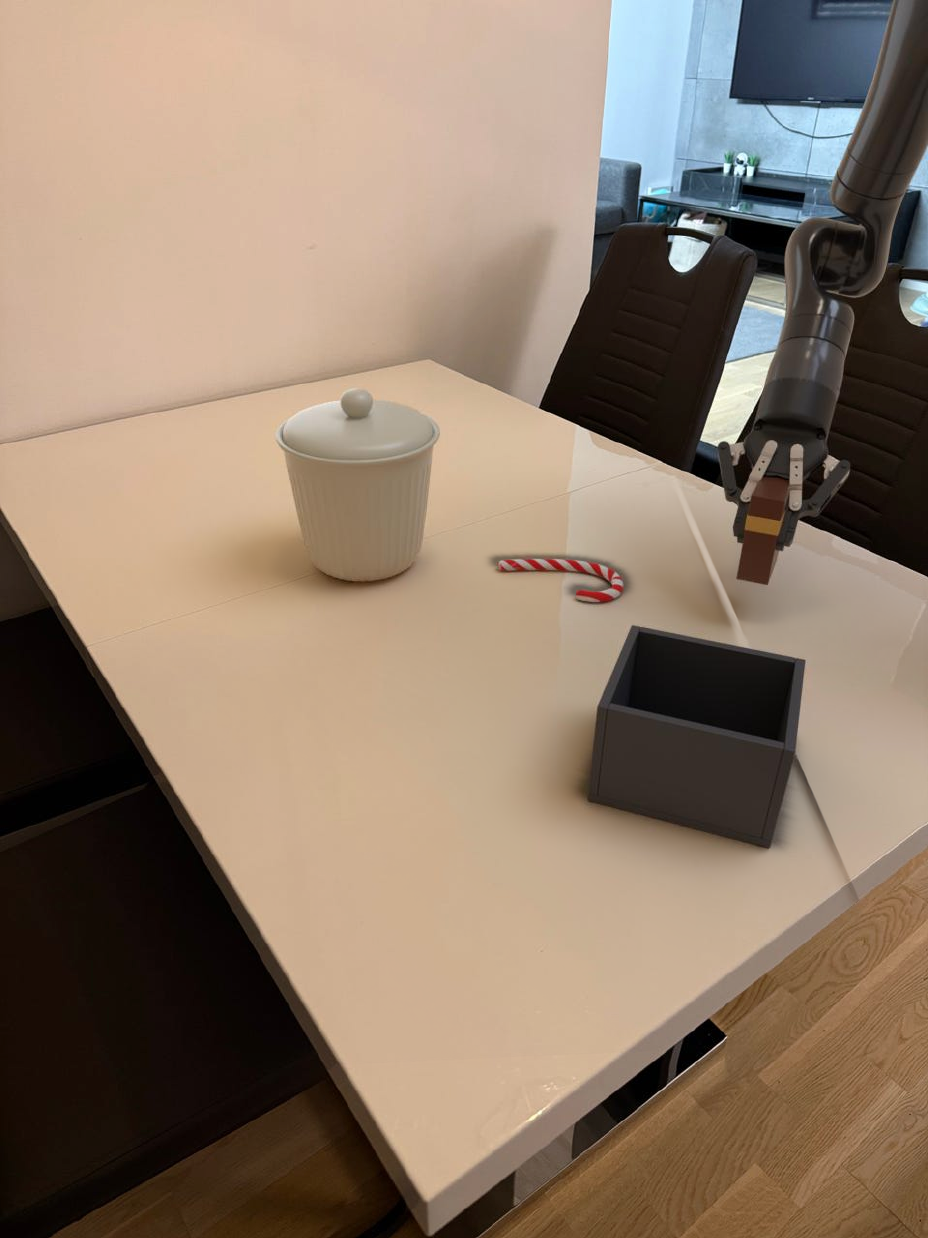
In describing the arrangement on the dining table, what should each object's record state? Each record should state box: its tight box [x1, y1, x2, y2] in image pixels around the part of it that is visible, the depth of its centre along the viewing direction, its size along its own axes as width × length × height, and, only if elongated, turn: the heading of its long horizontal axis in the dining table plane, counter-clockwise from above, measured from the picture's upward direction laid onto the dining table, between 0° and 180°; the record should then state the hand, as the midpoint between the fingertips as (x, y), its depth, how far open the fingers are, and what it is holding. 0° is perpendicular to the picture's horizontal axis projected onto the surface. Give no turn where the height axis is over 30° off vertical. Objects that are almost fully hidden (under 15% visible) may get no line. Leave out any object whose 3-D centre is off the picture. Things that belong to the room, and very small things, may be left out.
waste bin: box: [586, 624, 806, 849], centre depth 76 cm, size 15×13×10 cm
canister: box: [275, 387, 441, 582], centre depth 105 cm, size 18×18×21 cm
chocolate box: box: [735, 476, 791, 586], centre depth 95 cm, size 3×6×10 cm, turn 155°
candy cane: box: [497, 558, 624, 603], centre depth 106 cm, size 8×1×15 cm
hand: (760, 543), depth 93 cm, fingers closed on chocolate box, 3 cm apart
